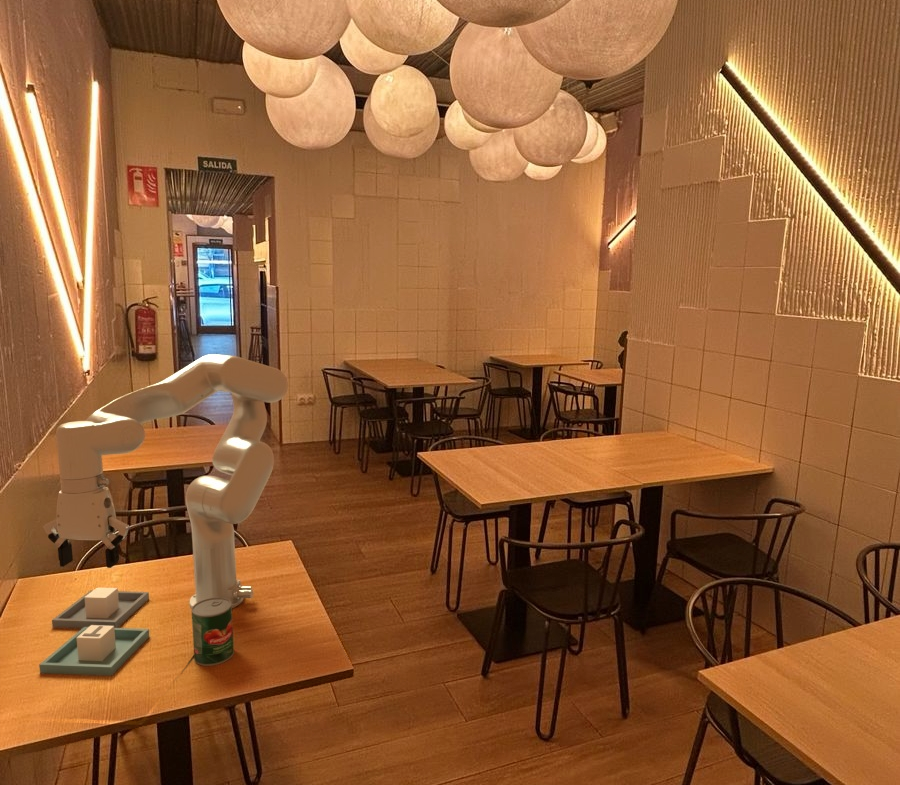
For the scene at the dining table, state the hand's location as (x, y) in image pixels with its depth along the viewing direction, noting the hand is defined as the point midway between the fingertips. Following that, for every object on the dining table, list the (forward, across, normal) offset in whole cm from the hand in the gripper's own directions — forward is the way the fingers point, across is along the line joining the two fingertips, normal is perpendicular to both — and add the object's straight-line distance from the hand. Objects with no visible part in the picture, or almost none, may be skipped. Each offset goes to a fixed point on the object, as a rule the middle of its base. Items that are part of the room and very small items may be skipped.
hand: (89, 564), depth 132 cm
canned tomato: (+20, -24, -2) cm, 32 cm away
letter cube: (+20, 0, 0) cm, 20 cm away
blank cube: (+20, +9, -17) cm, 28 cm away
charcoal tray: (+20, +9, -17) cm, 28 cm away
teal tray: (+20, 0, 0) cm, 20 cm away
